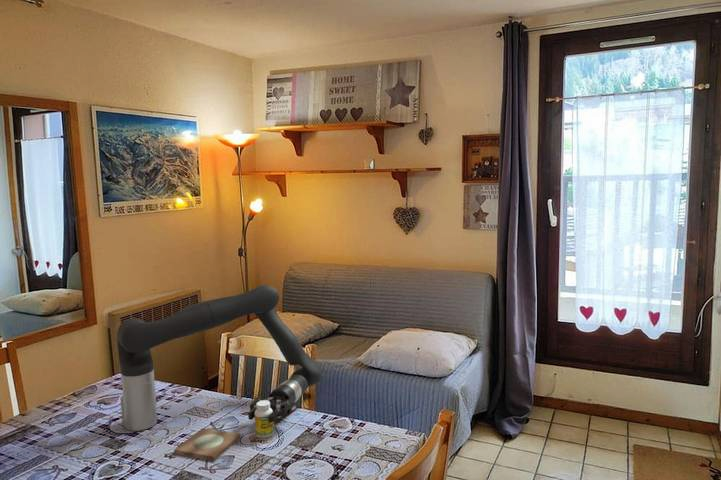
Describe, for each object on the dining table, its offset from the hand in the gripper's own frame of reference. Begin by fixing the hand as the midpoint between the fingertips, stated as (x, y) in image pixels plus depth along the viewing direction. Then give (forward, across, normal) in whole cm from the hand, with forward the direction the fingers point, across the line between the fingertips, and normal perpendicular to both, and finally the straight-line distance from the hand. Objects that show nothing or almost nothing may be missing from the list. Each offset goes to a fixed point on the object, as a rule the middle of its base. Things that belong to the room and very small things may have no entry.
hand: (259, 418), depth 154 cm
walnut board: (+9, -12, +6) cm, 16 cm away
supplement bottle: (-2, 0, +6) cm, 7 cm away
